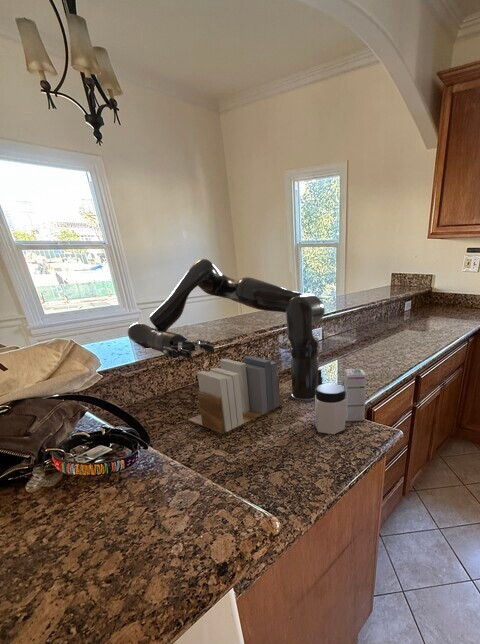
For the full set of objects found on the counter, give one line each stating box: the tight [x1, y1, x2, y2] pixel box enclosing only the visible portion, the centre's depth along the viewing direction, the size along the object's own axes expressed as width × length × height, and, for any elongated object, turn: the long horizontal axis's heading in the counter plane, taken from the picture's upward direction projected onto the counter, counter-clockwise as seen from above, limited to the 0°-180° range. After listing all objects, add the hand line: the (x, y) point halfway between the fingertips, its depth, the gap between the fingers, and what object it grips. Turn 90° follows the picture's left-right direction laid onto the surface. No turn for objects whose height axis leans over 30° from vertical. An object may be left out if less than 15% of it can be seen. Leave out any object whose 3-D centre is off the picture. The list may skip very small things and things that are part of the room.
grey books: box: [242, 355, 280, 415], centre depth 108 cm, size 7×9×16 cm
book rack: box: [188, 374, 282, 435], centre depth 106 cm, size 24×15×11 cm, turn 145°
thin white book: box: [219, 358, 250, 413], centre depth 107 cm, size 2×9×15 cm, turn 55°
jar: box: [314, 382, 346, 435], centre depth 98 cm, size 9×8×12 cm
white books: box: [196, 367, 244, 433], centre depth 97 cm, size 6×9×15 cm
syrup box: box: [343, 368, 367, 422], centre depth 104 cm, size 6×6×14 cm
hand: (202, 352), depth 110 cm, fingers open, 8 cm apart
